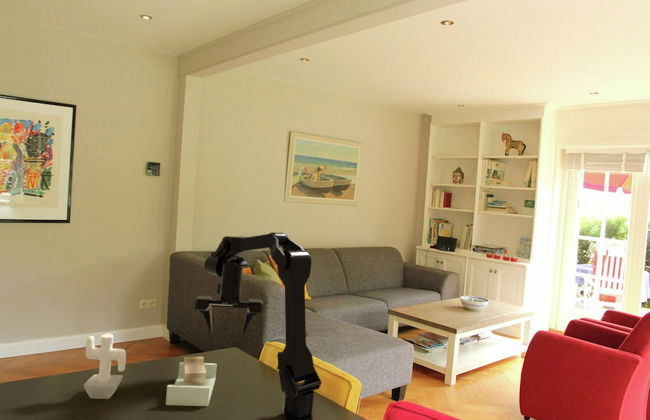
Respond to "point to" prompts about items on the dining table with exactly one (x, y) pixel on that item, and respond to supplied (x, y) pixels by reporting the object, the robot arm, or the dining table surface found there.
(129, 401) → the dining table surface
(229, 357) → the dining table surface
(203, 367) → the beige tapered block
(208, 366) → the pale green pegged panel
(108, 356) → the figurine
